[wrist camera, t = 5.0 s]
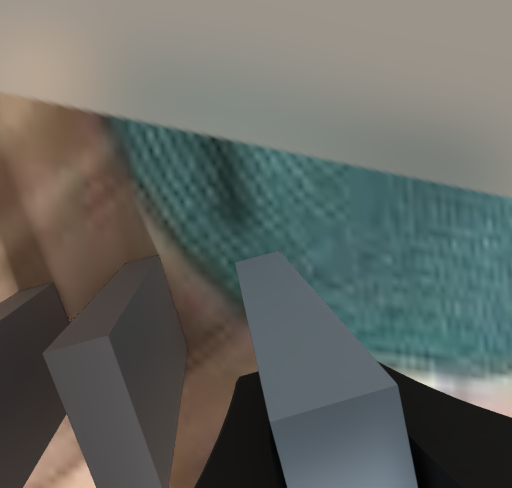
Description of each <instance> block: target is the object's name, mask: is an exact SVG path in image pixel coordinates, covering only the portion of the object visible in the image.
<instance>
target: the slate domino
mask: <svg viewBox="0 0 512 488" xmlns="http://www.w3.org/2000/svg"><path fill="white" fill-rule="evenodd" d="M235 265H236V270H237V274H238V279H239V284H240V288H241V293H242V297H243V302H244V306H245V311H246V316H247V320H248V325H249V329H250V334H251V339H252V343H253V348H254V352H255V357H256V361H257V366H258V371H259V375H260V380H261V384H262V389H263V393H264V398H265V403H266V407H267V412H268V416H269V421H270V425H271V429H272V432H273V436H274V440H275V443H276V447H277V451H278V455H279V458H280V462H281V466H282V469H283V473H284V477H285V481H286V484H287V488H418V486H417V481H416V476H415V471H414V465H413V460H412V455H411V450H410V445H409V440H408V435H407V430H406V425H405V420H404V414H403V409H402V404H401V399H400V394H399V389H398V385H397V383H396V382H395V381H394V380H393V379H392V378H391V377H390V376H389V374H388V373H387V372H386V371H385V370H384V369H383V368H382V366H381V365H380V364H379V363H378V362H377V361H376V360H375V359H374V357H373V356H372V355H371V354H370V353H369V352H368V351H367V350H366V348H365V347H364V346H363V345H362V344H361V343H360V342H359V341H358V339H357V338H356V337H355V336H354V335H353V334H352V333H351V332H350V330H349V329H348V328H347V327H346V326H345V325H344V324H343V322H342V321H341V320H340V319H339V318H338V317H337V316H336V315H335V313H334V312H333V311H332V310H331V309H330V308H329V307H328V306H327V304H326V303H325V302H324V301H323V300H322V299H321V298H320V297H319V295H318V294H317V293H316V292H315V291H314V290H313V289H312V287H311V286H310V285H309V284H308V283H307V282H306V281H305V280H304V278H303V277H302V276H301V275H300V274H299V273H298V272H297V271H296V269H295V268H294V267H293V266H292V265H291V264H290V263H289V262H288V260H287V259H286V258H285V257H284V256H283V255H282V254H281V252H280V251H276V252H273V253H269V254H265V255H261V256H258V257H254V258H250V259H246V260H243V261H239V262H235Z"/></svg>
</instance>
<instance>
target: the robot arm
mask: <svg viewBox="0 0 512 488" xmlns="http://www.w3.org/2000/svg"><path fill="white" fill-rule="evenodd" d="M377 362H378V361H377ZM378 363H379V362H378ZM379 364H380V365H381V366H382V368H383V369H384V370H385V371H386V372H387V373H388V374H389V376H390V377H391V378H392V379H393V380H394V381H395V382H396V383H397V385H398V389H399V394H400V399H401V404H402V409H403V414H404V420H405V425H406V430H407V435H408V440H409V445H410V450H411V455H412V460H413V465H414V471H415V476H416V481H417V486H418V488H512V418H511V417H508V416H505V415H502V414H499V413H496V412H493V411H490V410H487V409H484V408H481V407H478V406H475V405H473V404H470V403H467V402H465V401H462V400H459V399H457V398H454V397H452V396H450V395H447V394H445V393H443V392H440V391H438V390H435V389H433V388H431V387H428V386H426V385H424V384H422V383H420V382H417V381H415V380H413V379H411V378H409V377H407V376H405V375H403V374H401V373H399V372H397V371H395V370H393V369H391V368H389V367H387V366H385V365H383V364H381V363H379ZM194 488H287V484H286V481H285V477H284V473H283V469H282V466H281V462H280V458H279V455H278V451H277V447H276V443H275V440H274V436H273V432H272V429H271V425H270V421H269V416H268V412H267V407H266V403H265V398H264V393H263V389H262V384H261V380H260V375H259V371H258V372H255V373H251V374H248V375H244V376H241V377H239V379H238V380H237V382H236V386H235V390H234V394H233V397H232V401H231V404H230V407H229V410H228V413H227V416H226V418H225V421H224V423H223V426H222V429H221V431H220V434H219V436H218V439H217V441H216V444H215V446H214V448H213V450H212V452H211V455H210V457H209V459H208V461H207V463H206V465H205V468H204V470H203V472H202V474H201V476H200V478H199V480H198V482H197V484H196V486H195V487H194Z"/></svg>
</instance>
